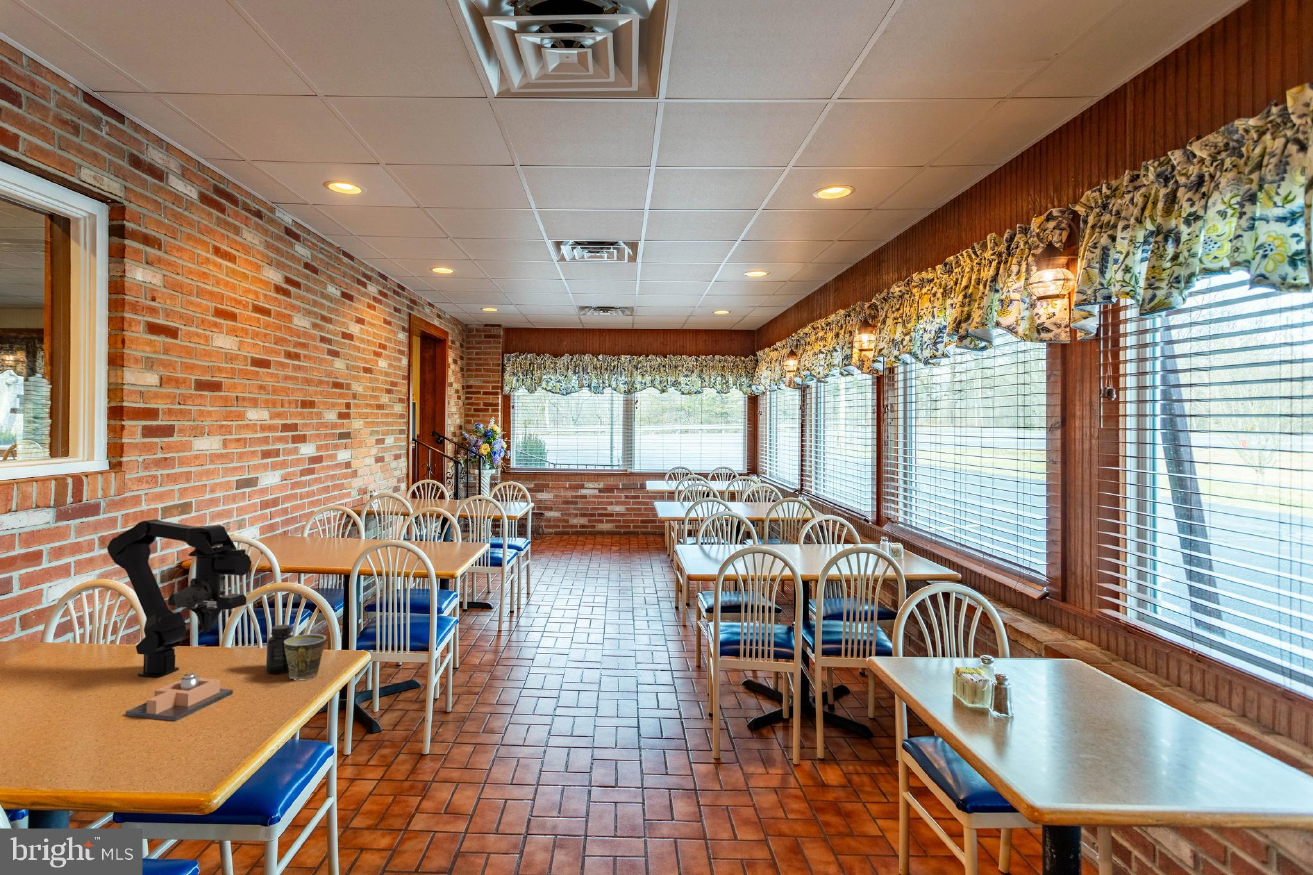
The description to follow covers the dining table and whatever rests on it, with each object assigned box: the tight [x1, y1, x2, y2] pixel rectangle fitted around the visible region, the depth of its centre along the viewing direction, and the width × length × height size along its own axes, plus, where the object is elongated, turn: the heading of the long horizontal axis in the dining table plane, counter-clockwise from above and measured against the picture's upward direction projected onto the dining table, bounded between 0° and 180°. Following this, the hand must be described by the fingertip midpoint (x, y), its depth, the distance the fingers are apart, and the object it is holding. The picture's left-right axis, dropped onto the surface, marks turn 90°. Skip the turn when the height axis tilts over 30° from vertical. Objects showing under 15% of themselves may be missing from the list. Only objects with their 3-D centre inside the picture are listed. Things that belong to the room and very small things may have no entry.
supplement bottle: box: [265, 624, 295, 675], centre depth 176 cm, size 7×7×12 cm
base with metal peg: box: [125, 672, 234, 722], centre depth 152 cm, size 13×16×6 cm
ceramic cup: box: [284, 633, 327, 680], centre depth 171 cm, size 13×10×10 cm
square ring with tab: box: [146, 677, 221, 714], centre depth 152 cm, size 9×14×3 cm, turn 172°
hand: (206, 632), depth 170 cm, fingers closed
